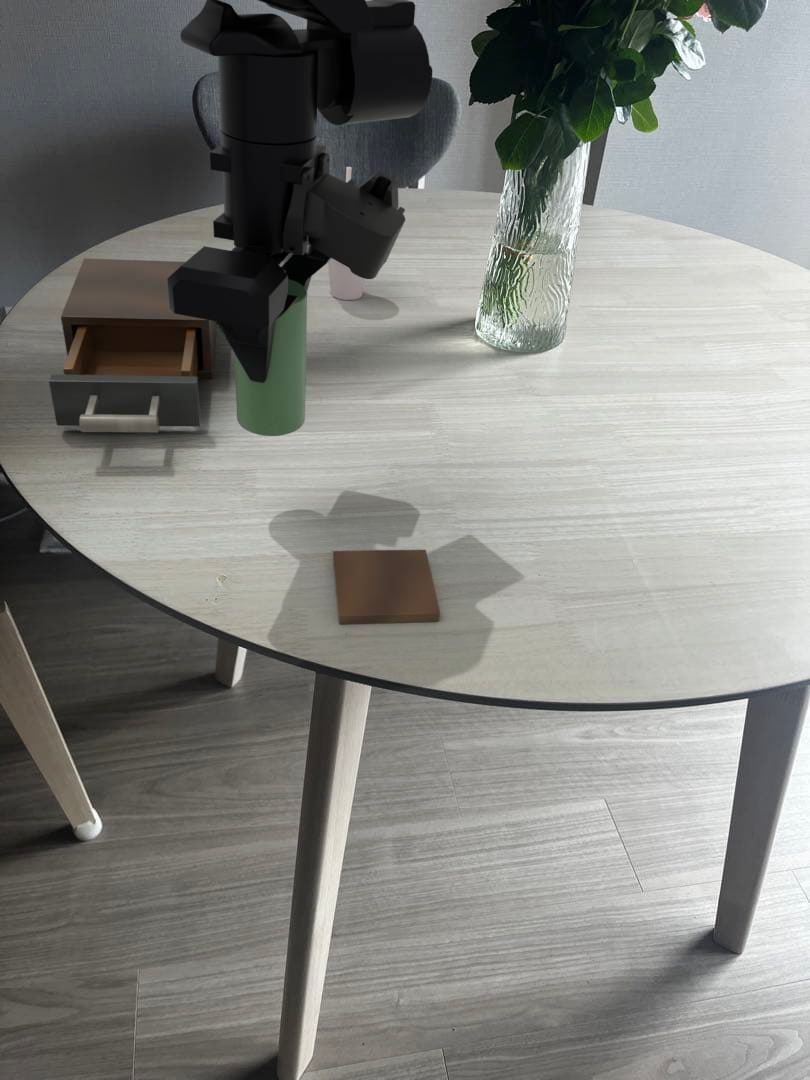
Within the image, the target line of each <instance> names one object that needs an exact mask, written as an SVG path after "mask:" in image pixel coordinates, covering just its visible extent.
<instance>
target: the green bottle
mask: <svg viewBox="0 0 810 1080" xmlns="http://www.w3.org/2000/svg"><path fill="white" fill-rule="evenodd" d="M288 294H289V295H294V296H298V298H297V300H296V301H295V302H294V303H293V305H292V306H291V307H290V308H289V309H288V311H287V312H286V313H285V314H284V315H283V316H282V317H280V318H278V319H276V325H275V331H274V338H273V345H272V352H271V358H270V364H269V370H268V375H267V379H266V381H265V382H264V383H259V382H254V381H251V380H250V379H249V377H248V376H247V374H246V372H245V370H244V369H243V367H242V365H241V364H240V362H239V360H238V358H237V357H236V355H235V354H234V373H235V400H236V401H235V403H236V421H237V423H238V424H239V426H240V427H241V428H243V429H244V430H245V431H247V432H249V433H252V434H255V435H259V436H264V437H279V436H286V435H290V434H291V433H295V432H296V431H298V430H299V429H301V428H302V426H303V425H304V424H305V421H306V390H307V389H306V388H307V387H306V385H307V384H306V380H307V333H308V331H307V330H308V329H307V328H308V325H307V324H308V290H307V291H306V289H305V287H304V286H303V285H301V284H300V283H298V282H296V281H293V280H290V279H288Z"/></svg>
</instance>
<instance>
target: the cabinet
mask: <svg viewBox="0 0 810 1080" xmlns="http://www.w3.org/2000/svg"><path fill="white" fill-rule="evenodd" d="M185 262H186V261H173V260H144V259H142V260H141V259H114V258H113V259H112V258H87V257H85V258H83V260H82V262H81V265H80V267H79V269H78V272H77V275H76V277H75V280H74V283H73V285H72V287H71V289H70V293H69V295H68V297H67V300H66V301H65V305H64V307H63V309H62V313H61V315H60V320H61V321H60V322H61V325H62V332H63V338H64V339H63V340H64V344H65V350H66V355H67V357H68V354H69V351H70V349H71V346H72V343H73V340H74V337H75V335H76V332H77V329H78V326H79V325H109V326H153V327H197V330H198V345H199V362H198V370H197V377H198V379H209V380H210V379H213V377H214V365H215V364H214V363H215V353H216V344H217V332H218V331H217V330H218V325H217V324H216V322H215V321H212V320H206V319H201V318H195V317H190V316H185V315H179V314H174V312H173V311H172V310H171V309H170V305H169V293H168V281H167V278H168V277H170V276H171V275H172V274H173V273H174V272H175V271H176V270H177V269H178V268H179V267H180V266H181V265H183V264H184V263H185ZM67 357H66V358H67Z"/></svg>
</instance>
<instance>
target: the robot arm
mask: <svg viewBox="0 0 810 1080" xmlns="http://www.w3.org/2000/svg"><path fill="white" fill-rule="evenodd" d="M257 1H258V2H260V3H261V2H262V3H264V4H265V5H267V6H268V7H269V8H272V9H275V10H277V11H281V12H283V13H287V14H290V15H293V16H295V17H298V18H301V19H304V20H306V28H299V29H298V28H297V29H293V28H292V27H291V25H290V24H289V23H288V22H287V21H286V20H285V19H284V18H283V17H282V16H280V15H278V14H276V13H272V12H271V13H241V14H238V13H237V12H236V10H235V9H234V7H233V5H231V4H230V3H228V2H225V1H222V0H205V4H204V6H203V8H202V9H201V10H200V12H199V13H198V14H197V15H196V16H195V17H194V18H193V19H191V20H190V21H189V22H188V23H187V24H186V26H185V27H184V28H182V30H181V31H180V34H179V36H180V37H179V38H180V41H181V42H182V43H183V44H185V45H187V46H190V47H192V48H195V49H197V50H199V51H201V52H204V53H206V54H208V55H210V56H213V57H217V59H218V60H217V61H218V62H217V63H218V87H219V88H218V89H219V109H220V137H221V144H220V145H218V146H217V147H216V148H214V149H212V150H211V151H209V164H210V165H209V166H210V171H216V172H222V185H223V186H222V187H223V188H222V189H223V211H224V212H223V213H222V214H220V215H219V216H218V217H216V218H215V219H214V220H213V221H212V226H213V238H216V239H222V240H223V239H224V240H229V241H233V246H234V247H233V248H232V249H231V250H229V249H223V248H217V247H211V246H206V245H205V246H203V247H202V248H200V249H199V250H198V251H197V252H195V253H194V254H193V255H192V256H190V258H188V259H187V260H186V261H184V262H185V263H184V264H183V265H181V266H180V267H179V268H178V269H177V270H176V271H175V272H174V273H173V274H172V275H171V276H170V277H168V278H167V281H168V293H169V305H170V309H171V310H172V311H173V312H174V314H179V315H185V316H190V317H195V318H201V319H206V320H212V321H215V322H216V324H217V328H219V330H220V331H221V333H222V334H223V336H224V338H225V339H226V341H227V343H228V344H229V346H230V348H231V350H232V352H233V353H234V356H235V355H236V357H237V358H238V360H239V362H240V364H241V365H242V367H243V369H244V370H245V372H246V374H247V376H248V377H249V379H250V380H251V381H254V382H259V383H264V382H265V381H266V379H267V375H268V370H269V364H270V358H271V352H272V345H273V338H274V331H275V325H276V319H278V318H280V317H282V316H283V315H284V314H285V313H286V312H287V311H288V309H289V308H290V307H291V306H292V305H293V303H294V302H295V301H296V300H297V298H298V296H294V295H289V294H288V279H290V280H293V281H296V282H298V283H300V284H301V285H303V286H304V287H305V289H306V291H307V292H308V290H309V287H310V284H311V280H312V277H313V275H315V274H317V273H318V272H319V271H320V270H321V269H322V268H324V267H325V266H326V265H328V261H329V260H330V259H331V258H332V259H334V260H336V261H338V262H339V263H341V264H343V265H345V266H347V267H348V268H350V270H351V272H352V273H353V274H355V275H357V276H359V277H361V278H364V279H365V280H373V279H375V278H376V277H377V276H378V274H379V272H380V271H381V269H382V267H383V266H384V265H385V264H386V263H387V260H388V258H389V256H390V254H391V252H392V250H393V248H394V245H395V243H396V241H397V239H398V237H399V235H400V233H401V230H402V228H403V226H404V224H405V222H406V216H405V215H404V214H405V211H406V209H405V208H403V206H399V183H398V180H397V179H395V178H393V177H392V176H390V175H388V174H387V173H385V172H383V171H382V170H378V171H376V172H375V173H373V174H372V175H371V176H370V177H368V178H367V179H366V180H365V181H364V182H362V183H361V184H359V186H356V184H357V181H356V180H354V179H352V178H351V179H350V180H349V181H348V182H347V183H346V181H344V180H341V178H337V177H336V176H334V175H332V174H331V173H330V172H331V171H330V163H331V160H330V159H331V156H330V154H329V152H326V151H327V150H326V149H327V148H326V145H319V144H317V133H318V132H317V130H318V129H317V128H318V111H319V113H320V114H321V116H322V117H323V118H324V119H325V120H326V121H327V122H328V123H330V124H332V125H334V126H345V125H355V124H361V123H371V122H380V121H389V120H398V119H405V118H407V119H408V118H412V117H413V116H416V115H418V113H419V112H420V111H422V109H423V108H424V106H425V104H426V103H427V101H428V98H429V95H430V93H431V87H432V82H433V66H431V63H430V56H429V52H428V48H427V43H426V42H425V39H424V36H423V35H422V32H421V31H420V30H419V28H418V26H417V25H416V24H415V18H416V17H415V15H416V4H415V2H414V1H411V0H257Z"/></svg>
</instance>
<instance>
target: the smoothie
mask: <svg viewBox="0 0 810 1080" xmlns="http://www.w3.org/2000/svg"><path fill="white" fill-rule="evenodd" d="M352 168H353V167H351V166H346V171H345V182H346V183H347V182H348V181H349V180H350V179H352V171H353V170H352ZM327 267H328V277H329V288H330V289H329V290H330V295H331V296H332V297H333V298H336V299H339V300H341V301H342V300H344V301H354V300H359V299H360V298H361V297H362V296H363V293H364V288H365V283H366V282H365V281H366V279H364V278H361V277H359V276H357V275H355V274H353V273H352V272H351V270H350V268H348V267H347V266H345V265H343V264H341V263H339V262H338V261H336V260H334V259H332V258H331V259H330V260H329V261H328V262H327Z"/></svg>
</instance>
